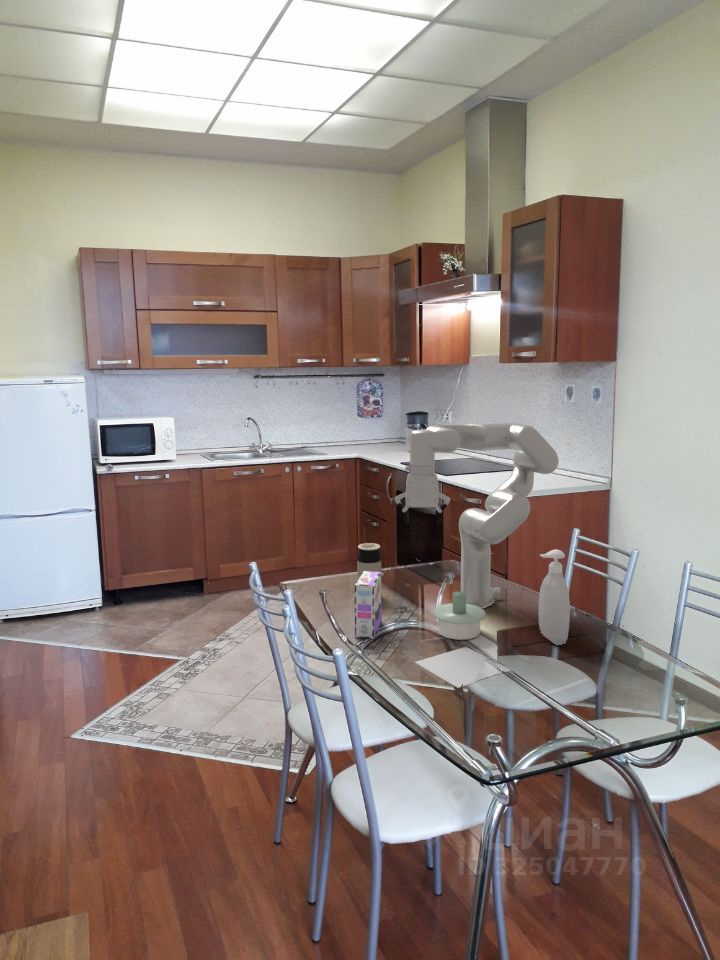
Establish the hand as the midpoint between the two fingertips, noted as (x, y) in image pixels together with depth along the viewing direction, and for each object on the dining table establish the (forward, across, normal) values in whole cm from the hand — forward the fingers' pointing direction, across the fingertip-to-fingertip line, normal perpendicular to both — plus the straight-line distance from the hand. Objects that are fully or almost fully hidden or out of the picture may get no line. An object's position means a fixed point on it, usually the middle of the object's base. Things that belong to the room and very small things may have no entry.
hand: (422, 524), depth 230 cm
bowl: (+29, +12, -16) cm, 36 cm away
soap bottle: (+30, +38, -17) cm, 51 cm away
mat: (+29, +13, -39) cm, 51 cm away
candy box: (+29, -15, -16) cm, 37 cm away
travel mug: (+29, -19, +12) cm, 37 cm away
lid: (+23, +12, -16) cm, 31 cm away
